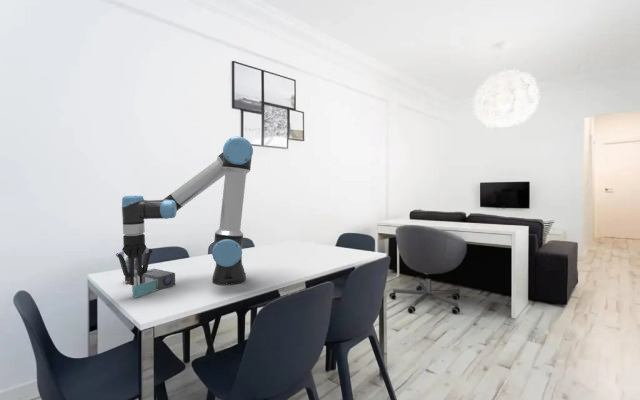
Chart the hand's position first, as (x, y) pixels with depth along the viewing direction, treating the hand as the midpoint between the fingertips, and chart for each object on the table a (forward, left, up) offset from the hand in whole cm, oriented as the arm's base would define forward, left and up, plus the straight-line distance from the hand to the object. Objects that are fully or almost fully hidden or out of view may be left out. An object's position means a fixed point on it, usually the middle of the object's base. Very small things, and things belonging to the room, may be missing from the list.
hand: (136, 291), depth 134 cm
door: (-2, -3, -1) cm, 4 cm away
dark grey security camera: (+7, -13, -2) cm, 15 cm away
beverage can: (+22, -11, -2) cm, 24 cm away
